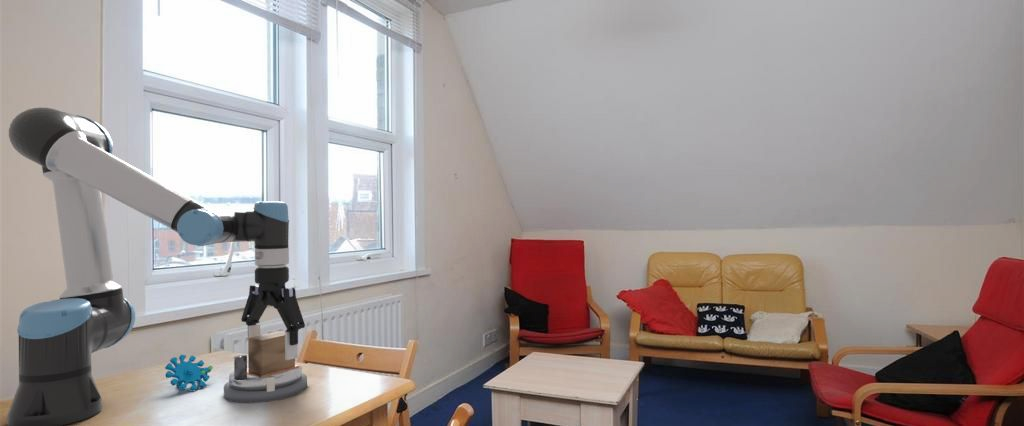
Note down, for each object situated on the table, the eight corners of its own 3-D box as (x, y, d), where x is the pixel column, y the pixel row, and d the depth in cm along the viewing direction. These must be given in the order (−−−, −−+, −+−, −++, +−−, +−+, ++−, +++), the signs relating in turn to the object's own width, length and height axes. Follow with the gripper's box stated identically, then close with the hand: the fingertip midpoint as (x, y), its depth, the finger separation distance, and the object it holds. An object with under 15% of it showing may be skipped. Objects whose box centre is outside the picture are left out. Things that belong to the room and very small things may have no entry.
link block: (248, 372, 132) (248, 337, 132) (281, 363, 140) (281, 330, 140) (262, 375, 129) (261, 340, 129) (294, 365, 137) (294, 332, 137)
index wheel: (234, 374, 138) (234, 345, 138) (303, 368, 143) (303, 340, 143) (223, 393, 123) (223, 361, 123) (300, 386, 128) (300, 355, 128)
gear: (174, 390, 128) (162, 354, 133) (161, 405, 130) (150, 370, 135) (220, 384, 137) (208, 351, 142) (208, 399, 139) (197, 365, 144)
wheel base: (207, 394, 130) (207, 372, 130) (275, 375, 146) (275, 355, 146) (256, 407, 121) (256, 384, 121) (323, 385, 136) (323, 364, 136)
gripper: (225, 265, 138) (226, 352, 138) (293, 270, 125) (293, 365, 125) (253, 262, 144) (253, 345, 144) (320, 267, 131) (320, 358, 131)
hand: (272, 355), depth 135 cm, fingers open, 13 cm apart
